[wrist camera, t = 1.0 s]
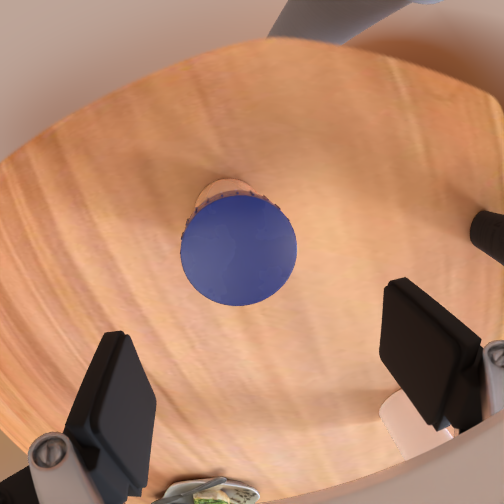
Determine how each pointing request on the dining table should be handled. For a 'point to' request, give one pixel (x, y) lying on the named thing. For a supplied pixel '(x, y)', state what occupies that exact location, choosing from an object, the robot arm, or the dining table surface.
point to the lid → (238, 248)
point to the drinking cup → (489, 234)
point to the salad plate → (209, 492)
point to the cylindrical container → (409, 427)
